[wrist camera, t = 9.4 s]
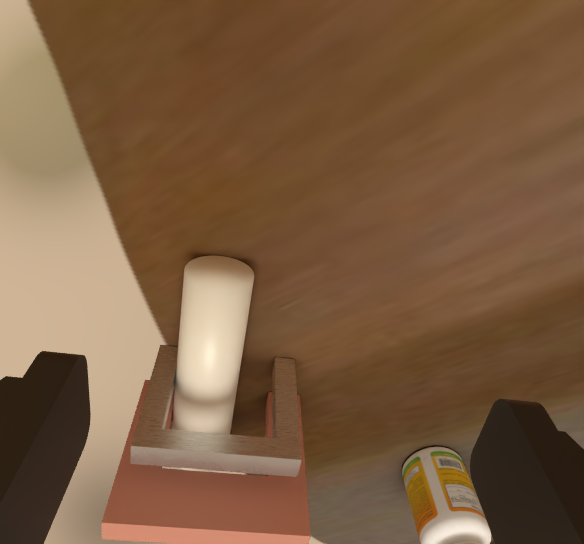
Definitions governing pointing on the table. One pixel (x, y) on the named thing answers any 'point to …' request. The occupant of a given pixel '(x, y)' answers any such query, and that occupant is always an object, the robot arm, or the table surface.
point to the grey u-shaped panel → (213, 446)
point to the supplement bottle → (443, 499)
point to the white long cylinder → (211, 343)
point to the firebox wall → (205, 501)
